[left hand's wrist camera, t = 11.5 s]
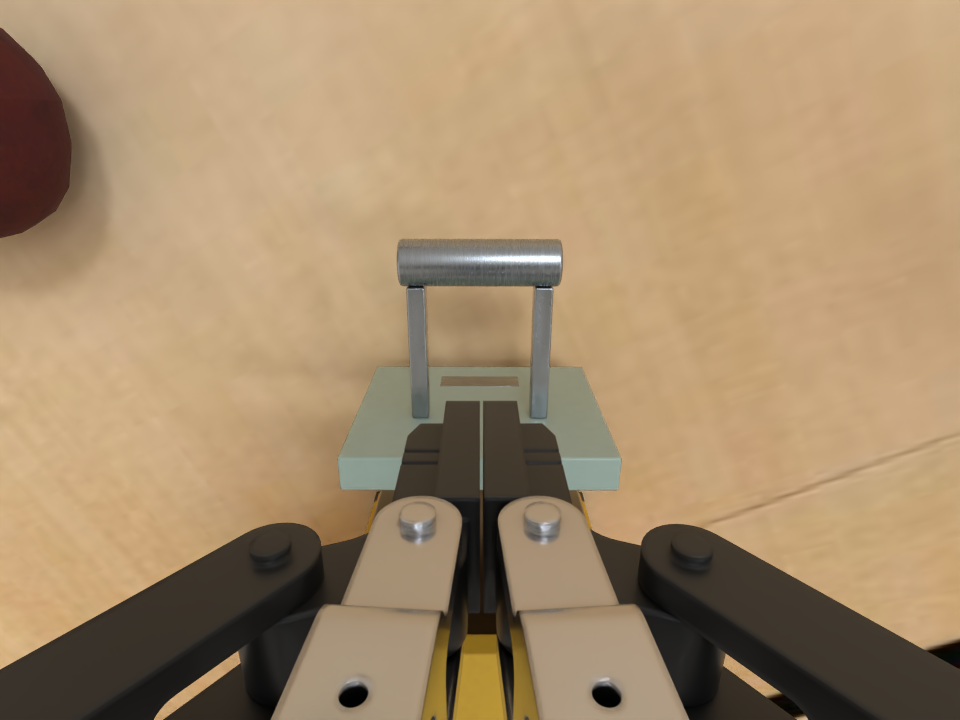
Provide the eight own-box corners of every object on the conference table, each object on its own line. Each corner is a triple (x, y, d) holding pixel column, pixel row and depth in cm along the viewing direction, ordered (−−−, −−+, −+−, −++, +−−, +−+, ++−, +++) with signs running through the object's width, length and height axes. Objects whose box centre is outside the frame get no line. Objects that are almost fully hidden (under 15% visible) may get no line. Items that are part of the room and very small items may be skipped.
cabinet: (376, 492, 28) (330, 654, 19) (581, 492, 28) (628, 655, 19) (395, 744, 35) (366, 952, 26) (562, 744, 35) (590, 952, 26)
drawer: (366, 219, 23) (316, 258, 16) (592, 219, 23) (643, 258, 16) (396, 655, 31) (371, 809, 24) (561, 655, 31) (585, 809, 24)
